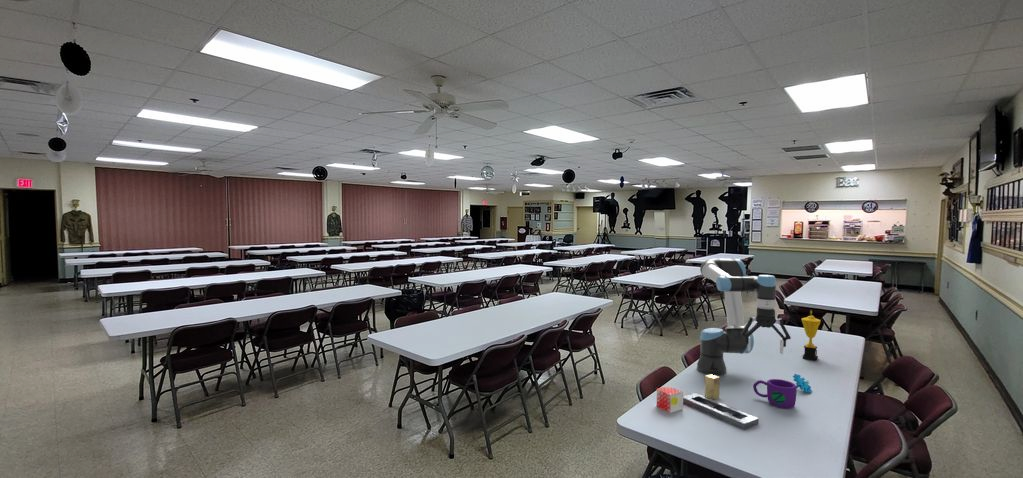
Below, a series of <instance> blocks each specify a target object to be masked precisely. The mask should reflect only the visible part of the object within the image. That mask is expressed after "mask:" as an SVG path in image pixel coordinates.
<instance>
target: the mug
mask: <svg viewBox="0 0 1023 478" xmlns="http://www.w3.org/2000/svg"><path fill="white" fill-rule="evenodd" d="M760 384H761V385H762V384H763V385H764V386H766V394H765V393H761V392H759V390H758V389H757V387H758V386H759V385H760ZM752 388H753V391H754V393H755V394H756V395H757V396H758V397H761V398H767V401H768V402H769V404H770V405H772V406H774V407H777V408H779V409H785V410H786V409H788V410H789V409H792V408H794V407H795V406H796V401H797V389H798V388H797V386H796V383H794V382H792V381H789V380H785V379H779V378H771V379H768V380H767V381H764V380H761V379H760V380H757V381H755V382H754V383H753V385H752Z"/></svg>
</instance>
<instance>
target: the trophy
mask: <svg viewBox="0 0 1023 478" xmlns="http://www.w3.org/2000/svg"><path fill="white" fill-rule="evenodd" d="M812 314H813V310H810V315H808V316H806V317H802V318H801V322H802V325H803V329H804V332H805V335H806V337H807V338H808V340H809V341H808V342H807V343H806V344H804V346H803V348H804V351H803V352H804V353H803V354H802V359H804V360H808V361H815V362H817V361H818V359H819V355H818V346H815V344H814V343H813V338H815V337H816V335H817V332H818V330H819V329H818V328H819V326H820V325H821V319H818V318H816V317H815V316H814V315H812Z"/></svg>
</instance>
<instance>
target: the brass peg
mask: <svg viewBox="0 0 1023 478" xmlns="http://www.w3.org/2000/svg"><path fill="white" fill-rule="evenodd" d="M720 378H721V377H720V376H718V375H713V374H707V375H705V376H704V383H705V384H704V397H705V396H707V398H708V397H709V399H710V398H711V399H712V400H713V399H714V400H716V398H718V399H720V390H721V389H720V388H721V382H720V381H721V379H720Z"/></svg>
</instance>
